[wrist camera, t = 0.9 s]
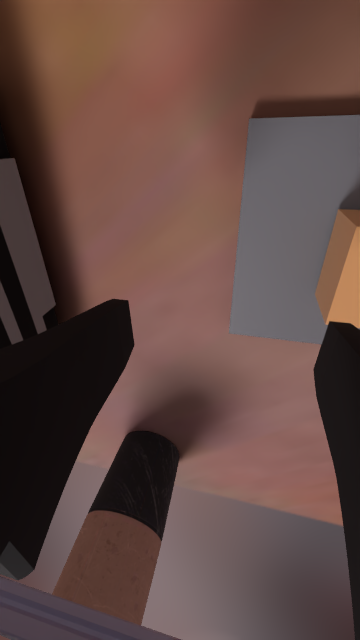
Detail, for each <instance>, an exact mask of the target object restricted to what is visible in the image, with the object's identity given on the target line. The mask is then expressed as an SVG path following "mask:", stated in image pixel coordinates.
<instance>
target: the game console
mask: <svg viewBox="0 0 360 640" xmlns="http://www.w3.org/2000/svg"><path fill="white" fill-rule="evenodd" d="M55 305H56V303H55V300H54V296H53V293H52V289H51V286H50V282H49V279H48V275H47V271H46V268H45V264H44V261H43V257H42V254H41V250H40V247H39V243H38V240H37V236H36V232H35V229H34V225H33V222H32V218H31V215H30V211H29V208H28V204H27V201H26V197H25V193H24V190H23V186H22V183H21V179H20V176H19V172H18V169H17V165H16V162H15V158H10V155H9V151H8V148H7V145H6V141H5V138H4V134H3V131H2V127H1V124H0V349H1V348H4V347H7V346H9V345H12V344H15V343H17V342H20V341H23V340H25V339H28V338H30V337H32V336H35V335H37V334H39V333H42V332H44V331H46V330H48V329H50V328H52V327H55V326H57V325H59V324H58V321H57V317H56V314H55V311H54V306H55Z"/></svg>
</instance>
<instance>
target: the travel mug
mask: <svg viewBox="0 0 360 640" xmlns="http://www.w3.org/2000/svg"><path fill="white" fill-rule="evenodd" d="M178 462H179V453H178V450H177V448H176V447H175V446H174V445H173V444H172V443H171V442H170V441H169V440H167V439H166V438H164V437H162V436H160V435H157V434H155V433H151V432H146V431H136V432H132V433H130V434H128V435H127V436H126V437H125V439H124V440H123V442H122V444H121V446H120V448H119V450H118V452H117V454H116V456H115V459H114V461H113V463H112V465H111V467H110V469H109V471H108V473H107V475H106V477H105V479H104V482H103V483H102V485H101V487H100V489H99V492H98V494H97V496H96V498H95V500H94V502H93V504H92V506H91V508H90V510H89V512H88V515H87V517H86V519H85V521H84V523H83V526H82V528H81V530H80V532H79V535H78V537H77V539H76V541H75V544H74V546H73V548H72V550H71V553H70V555H69V557H68V559H67V562H66V564H65V566H64V568H63V571H62V573H61V575H60V577H59V580H58V582H57V584H56V586H55V589H54V591H53V593H52V595H55V596H58V597H61V598H64V599H66V600H69V601H72V602H75V603H78V604H81V605H84V606H86V607H89V608H92V609H95V610H98V611H101V612H104V613H106V614H109V615H112V616H115V617H118V618H121V619H124V620H126V621H129V622H132V623H135V624H138V625H141V623H142V619H143V615H144V611H145V607H146V603H147V599H148V595H149V590H150V587H151V583H152V579H153V575H154V571H155V566H156V563H157V558H158V555H159V550H160V546H161V541H162V537H163V533H164V528H165V524H166V519H167V514H168V510H169V505H170V500H171V495H172V491H173V486H174V481H175V477H176V472H177V467H178Z"/></svg>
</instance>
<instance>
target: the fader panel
mask: <svg viewBox="0 0 360 640" xmlns="http://www.w3.org/2000/svg"><path fill="white" fill-rule="evenodd" d="M338 209H348V210H360V115H340V116H310V117H281V118H252V119H249V127H248V137H247V148H246V158H245V169H244V180H243V190H242V201H241V211H240V222H239V232H238V243H237V253H236V264H235V275H234V285H233V296H232V306H231V317H230V327H229V333H231V334H239V335H247V336H256V337H264V338H273V339H281V340H289V341H298V342H306V343H315V344H322V342H323V339H324V336H325V333H326V330H327V327H328V325H326V324H325V322H324V319H323V316H322V314H321V311H320V308H319V305H318V302H317V299H316V296H315V292H316V288H317V285H318V281H319V277H320V274H321V270H322V266H323V263H324V259H325V255H326V252H327V248H328V245H329V241H330V237H331V234H332V230H333V226H334V223H335V219H336V215H337V212H338ZM358 329H359V330H360V328H358Z"/></svg>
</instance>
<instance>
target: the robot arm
mask: <svg viewBox="0 0 360 640" xmlns="http://www.w3.org/2000/svg"><path fill="white" fill-rule="evenodd" d="M133 347H134V339H133V332H132V324H131V317H130V310H129V302H128V300H119V299H111V300H109V301H106V302H104V303H102V304H100V305H97V306H95V307H93V308H91V309H89V310H87V311H85V312H83V313H81V314H79V315H77V316H75V317H73V318H71V319H69V320H67V321H65V322H63V323H61V324H59V325H57V326H55V327H52V328H50V329H48V330H46V331H44V332H42V333H39V334H37V335H35V336H32V337H30V338H28V339H25V340H23V341H20V342H17V343H15V344H12V345H9V346H7V347H4V348H1V349H0V574H2V575H5V576H7V577H10V578H13V579H16V580H20V579H22V578H24V577H26V576H27V575H29V574H30V573H31V572H32V571H33V570H34V569H35V566H36V563H37V560H38V557H39V554H40V551H41V549H42V546H43V543H44V540H45V537H46V535H47V532H48V529H49V526H50V523H51V520H52V518H53V515H54V513H55V510H56V508H57V505H58V503H59V500H60V497H61V495H62V492H63V490H64V487H65V484H66V482H67V480H68V477H69V475H70V473H71V470H72V468H73V466H74V463H75V461H76V459H77V456H78V454H79V452H80V450H81V447H82V445H83V443H84V441H85V439H86V436H87V434H88V432H89V430H90V428H91V426H92V424H93V422H94V420H95V418H96V417H97V415H98V413H99V411H100V410H101V408H102V406H103V405H104V403H105V401H106V400H107V398H108V396H109V394H110V393H111V391H112V389H113V388H114V386H115V384H116V383H117V381H118V379H119V377H120V376H121V374H122V372H123V370H124V369H125V367H126V364H127V362H128V360H129V357H130V355H131V352H132V350H133ZM314 379H315V388H316V397H317V401H318V405H319V409H320V413H321V417H322V421H323V425H324V429H325V432H326V436H327V440H328V444H329V448H330V452H331V456H332V460H333V463H334V468H335V473H336V478H337V484H338V491H339V497H340V504H341V511H342V518H343V526H344V533H345V541H346V550H347V558H348V567H349V577H350V586H351V596H352V607H353V619H354V631H355V640H360V330H359V329H358V328H357V327H355V326H354V325H352V324H351V323H344V322H334V321H329V324H328V327H327V330H326V333H325V336H324V339H323V342H322V345H321V348H320V351H319V354H318V357H317V360H316V363H315V367H314ZM0 635H1V636H3V637H6V638H8V639H11V640H181V639H178V638H175V637H172V636H169V635H166V634H163V633H161V632H158V631H155V630H152V629H149V628H146V627H144V626H141V625H138V624H135V623H132V622H129V621H126V620H124V619H121V618H118V617H115V616H112V615H109V614H106V613H104V612H101V611H98V610H95V609H92V608H89V607H86V606H84V605H81V604H78V603H75V602H72V601H69V600H66V599H64V598H61V597H58V596H55V595H52V594H49V593H46V592H43V591H41V590H38V589H35V588H32V587H29V586H26V585H24V584H21V583H18V582H15V581H12V580H9V579H6V578H4V577H1V576H0Z"/></svg>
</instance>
